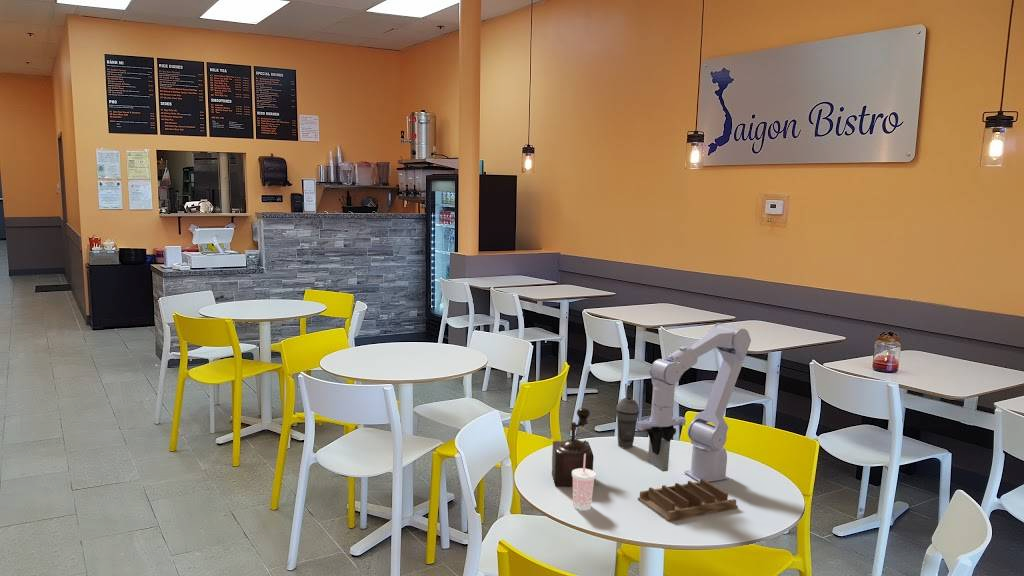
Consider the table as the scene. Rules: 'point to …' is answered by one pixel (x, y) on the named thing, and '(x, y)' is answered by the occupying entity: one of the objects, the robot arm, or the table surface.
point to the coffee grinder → (571, 454)
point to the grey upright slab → (660, 455)
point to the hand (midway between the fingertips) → (659, 452)
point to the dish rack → (686, 500)
